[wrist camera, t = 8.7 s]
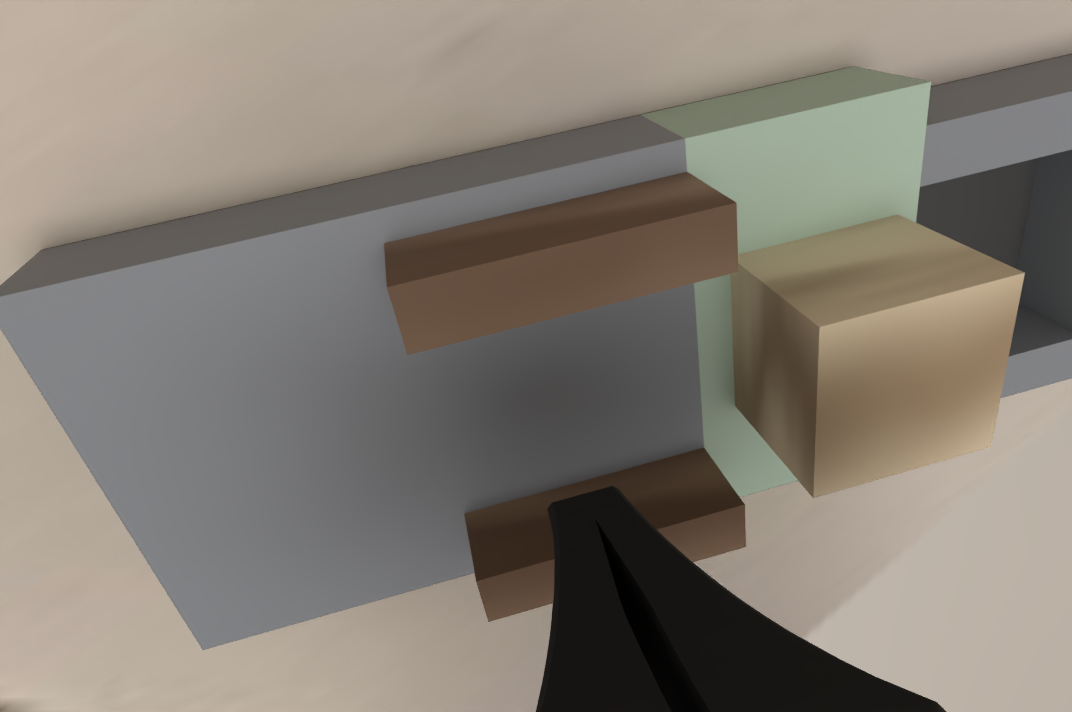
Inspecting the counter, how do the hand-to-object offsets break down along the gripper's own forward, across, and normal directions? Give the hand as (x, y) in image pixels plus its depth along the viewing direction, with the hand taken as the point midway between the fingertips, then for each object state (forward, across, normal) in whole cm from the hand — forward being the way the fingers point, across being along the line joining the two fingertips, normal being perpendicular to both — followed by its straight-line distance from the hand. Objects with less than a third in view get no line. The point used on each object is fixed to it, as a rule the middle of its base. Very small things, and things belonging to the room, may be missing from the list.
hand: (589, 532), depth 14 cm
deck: (+8, -4, 0) cm, 9 cm away
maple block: (+5, -8, 0) cm, 9 cm away
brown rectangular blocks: (+5, -1, 0) cm, 5 cm away
